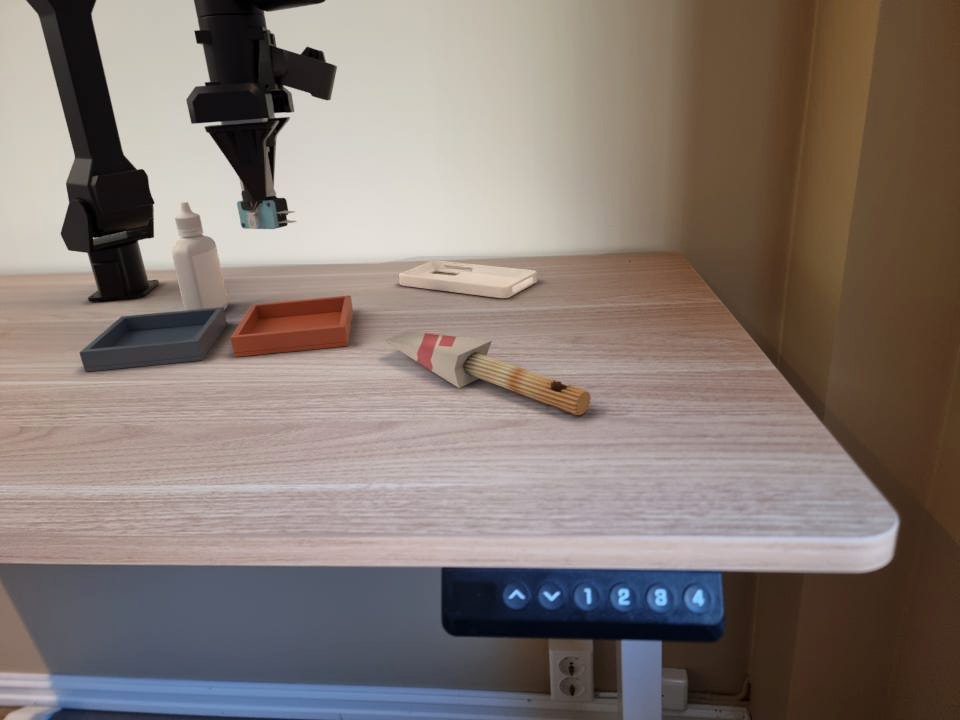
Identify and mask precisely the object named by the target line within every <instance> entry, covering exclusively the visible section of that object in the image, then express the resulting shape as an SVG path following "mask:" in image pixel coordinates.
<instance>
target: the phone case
mask: <svg viewBox="0 0 960 720" xmlns="http://www.w3.org/2000/svg"><path fill="white" fill-rule="evenodd" d="M446 266H453V267H463V268H471V270H468V269H457V268H450V267H446ZM435 272H437V273H435ZM441 273H446V274H441ZM450 274H454V275H450ZM398 280H399V285H400V286H403V287H410V288H411V287H412V288H417V289H426V290H434V291H443V292H450V293H458V294H466V295H473V296H481V297H488V298H495V299H496V298H497V299H509V298H510V297H513V296H514V295H516V294H519V293H520V292H522V291H523V290H525V289H527V288H529V287H531V286H533V285H534V284H536V283H537V282H538V272H537V271H536V270H534V269H527V268H526V269H525V268H515V267H505V266H495V265H486V264H475V263H466V262H458V261H457V262H456V261H447V260H446V261H445V260H431V261H428V262H425V263H423V264H421V265H418V266H416V267H413V268H410V269H408V270H406V271H403V272H400V273H398Z"/></svg>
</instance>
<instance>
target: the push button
mask: <svg viewBox="0 0 960 720" xmlns="http://www.w3.org/2000/svg"><path fill="white" fill-rule="evenodd" d="M273 133H276V129H274V130H273V131H272V133H271V134H270V135H269V137H268V138H267V140H266V179H267V197H266V199H265V200H263V201H255V200H254V199H253V198H252V196H251V195H250V193H249V192H248V190H247V189H246V187H245V186H244V184H243V183H242V181H241V180H240V178H239V177H238V180H239V184H240V189H241V195H240V196H241V199H242V200H238V201H237V202H236V206H237V211H238V215H239V221H240V226H241V228H242V229H243V230H244V229H245V230H246V229H247V230H251V229H252V230H276V229H281V228H283V227H287V226H288V224H294V223H297V220H290V219H288V217H287V216H288V215H289V214H292V213H295V212H296V211H295V210H289V207H288V202H287V199H286V198H285V197H277V192H276V191H275V185H274V186H273V181H272V175H271V170H270V164H269V159H268V152H269V151H270V150H269V147H270V146H275V140H274V135H273Z"/></svg>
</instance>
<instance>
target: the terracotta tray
mask: <svg viewBox="0 0 960 720" xmlns="http://www.w3.org/2000/svg"><path fill="white" fill-rule="evenodd" d="M353 315H354V308H353V301H352V295H350V294H349V295H337V296H329V297H317V298H316V297H315V298H305V299H295V300H284V301H275V302H261V303H252V304H251V305H250V306H249V308H248V309H247V311H246V313H245V315H244V316H243V318H242V319H241V320H240V322H239V323H238V325H237V327H236V328H235V330H234V331H233V333H232V335H231V336H230V343H231V348H232V352H233V357H234V358H240V357H247V356H249V357H250V356H259V355H271V354H280V353H289V352H300V351H309V350H311V351H312V350H320V349H330V348H341V347H348V345H349V340H350V339H349V338H350V335H351V334H350V333H351V327H352V322H353V321H352V320H353V317H354V316H353Z"/></svg>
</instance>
